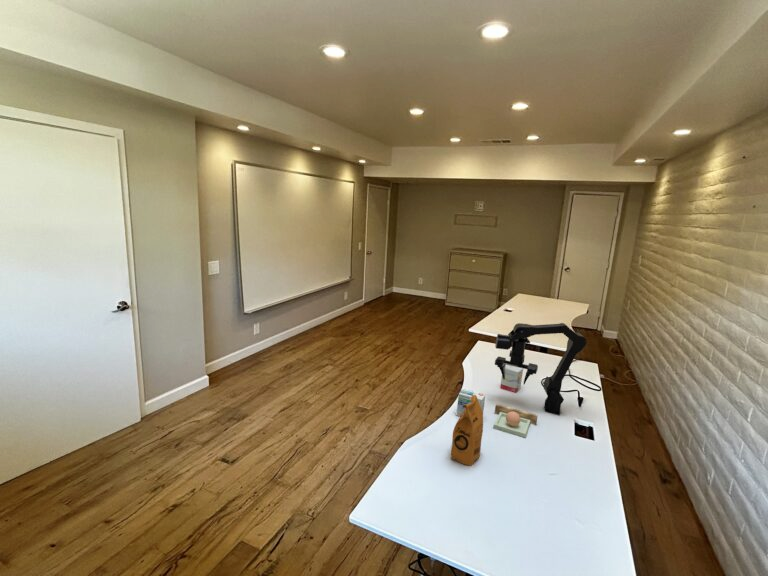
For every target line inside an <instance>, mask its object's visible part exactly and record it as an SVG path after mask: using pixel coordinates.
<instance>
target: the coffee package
mask: <svg viewBox="0 0 768 576" xmlns="http://www.w3.org/2000/svg"><path fill="white" fill-rule="evenodd" d="M463 408H466V409H465V410H464V411H463V413H462V415H461V417H460V416H459V418H458V420H457V422H456V423H455V425H454V429H453V431H452V442H451V450H450V457H451V459H452V460H453V461H457V462H458V463H462V464H463V465H465V466H468V467H469V466H470V467H471V466H472V465H473V464H474V463H475V461H476V460H478V459H479V457H480V454H481V448H482V440H483V439H482V438H483V437H482V436H483V433H484V411H483V412H482V409H481V406H480V404H479V401H478V399H477V396H476V395H473V396H472V397H471V403H470V404H466V405H464V406H463Z"/></svg>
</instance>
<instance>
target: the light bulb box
mask: <svg viewBox="0 0 768 576" xmlns="http://www.w3.org/2000/svg"><path fill="white" fill-rule="evenodd" d="M473 395H476V396H477V399H478V401H479V404H480V406H481V409H482V412H483V413H484V411H485V403H486V402H485V401H486V394H485V393H481V392H478V391H474V390H470V389H466V388H462V389H461V391H459V393H458V397H457V406H456V417H459V418H460V417H461V415H462V413H463V411H464V410H465V409H466V408H463V406H464V405H466V404H470V403H471V397H472V396H473Z"/></svg>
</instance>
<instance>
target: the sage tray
mask: <svg viewBox="0 0 768 576" xmlns="http://www.w3.org/2000/svg"><path fill="white" fill-rule="evenodd" d="M506 415H507V414H506V413H503V412H500V413H499V414H497V417H496V419H495V421H494V423H493V427H492V428H493V429H495V430H497V431H502V432H504V433H507V434H511V435H514V436H518V437H521V438H524V439H526V438H527V434H528V431H529V428H530V425H531V423H530V420H528V419H524V418H521V417H520V423H519V424H518V425H517V426H511V425H509V424H508V423H507V421H506Z"/></svg>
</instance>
